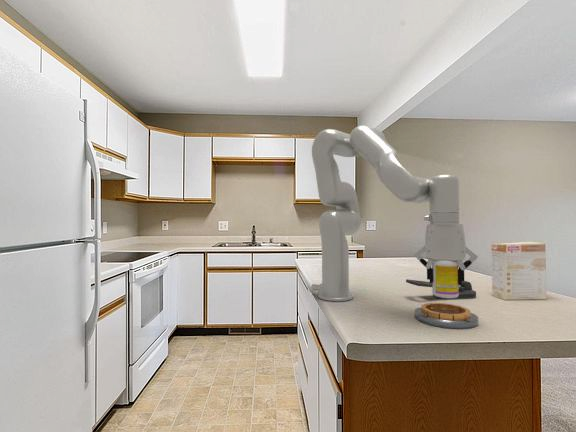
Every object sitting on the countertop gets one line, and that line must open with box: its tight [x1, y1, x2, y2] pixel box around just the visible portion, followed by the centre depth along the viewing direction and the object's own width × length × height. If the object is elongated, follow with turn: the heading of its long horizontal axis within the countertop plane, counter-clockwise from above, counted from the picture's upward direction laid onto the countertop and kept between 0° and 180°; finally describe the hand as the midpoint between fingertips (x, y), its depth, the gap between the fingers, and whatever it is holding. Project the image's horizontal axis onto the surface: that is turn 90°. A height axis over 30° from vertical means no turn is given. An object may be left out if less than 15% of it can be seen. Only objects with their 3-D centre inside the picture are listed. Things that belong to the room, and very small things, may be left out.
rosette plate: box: [414, 302, 479, 330], centre depth 91 cm, size 16×16×3 cm
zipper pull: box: [405, 278, 477, 301], centre depth 116 cm, size 9×7×25 cm
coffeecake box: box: [491, 241, 547, 301], centre depth 115 cm, size 15×7×20 cm, turn 91°
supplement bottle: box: [431, 260, 460, 298], centre depth 91 cm, size 7×7×13 cm
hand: (445, 282), depth 91 cm, fingers closed on supplement bottle, 6 cm apart
